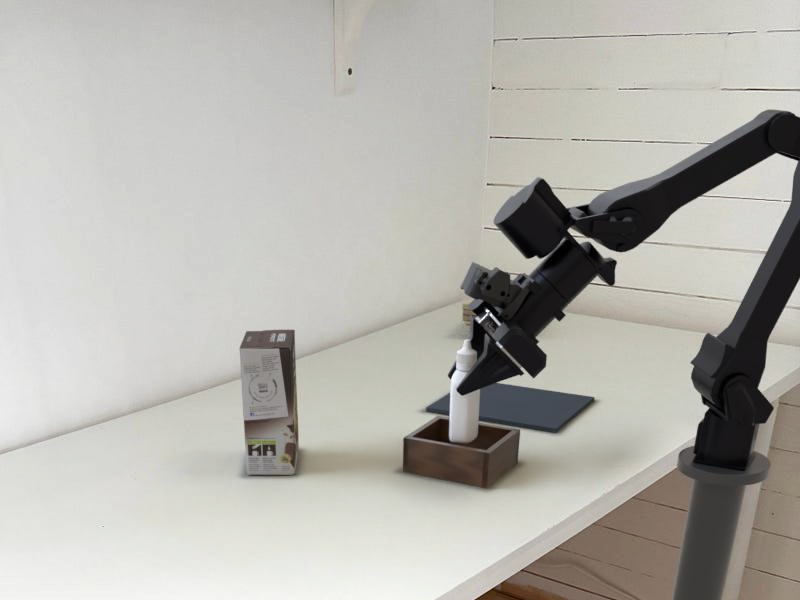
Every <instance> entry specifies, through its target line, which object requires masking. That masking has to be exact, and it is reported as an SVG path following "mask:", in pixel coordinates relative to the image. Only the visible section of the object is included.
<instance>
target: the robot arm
mask: <svg viewBox="0 0 800 600" xmlns="http://www.w3.org/2000/svg"><path fill="white" fill-rule="evenodd" d="M775 154H777V155H779V156H782V157H785V158H787V159H790V160H794V161H796V162H797V163H796V167H795V170H794V172H793V176H792V186H791V187H792V189H791V199H790V204H789V207H788V208H787V211H786V213H785V215H784V217H783V219H782V221H781V223H780V224H779V227H778V229H777V231H776V233H775V235H774V237H773V239H772V241H771V243H770V244H769V247H768V249H767V251H766V252H765V255H764V256H763V259H762V261H761V262H760V265H759V266H758V268H757V270H756V272H755V275H754V277H753V279H752V280H751V282H750V284H749V286H748V288H747V290H746V292H745V294H744V296H743V298H742V300H741V302H740V304H739V306H738V308H737V310H736V312H735V314H734V316H733V318H732V319H731V321H730V323H729V325H728V326H727V327H725V328H724V329H723V330H722V331H721V332H720V333H719V334H718V335H717V336H715V335H713V334H711V333H710V332H707V333H706V334H705V335H704V337H703V339H702V342H701V345H700V348H699V350H698V352H697V353H696V356H695V357H694V358H693V359H692V360H691V361H690V364H691V365H692V366H693V367H692V370H691V375H690V379H691V382H692V385H693V388H694V389H695V390H696V391H697V392H698V394H700V399H701V402H702V403H701V404H702V405H704V406H707V408H708V409H707V410H706V411H705V412H704V416H703V418H702V419H701V420H700V421H699V422H698V424H697V430H696V433H695V440H694V445H693V446H694V451H693V453H694V454H697V455H696V456H695V457H694V459H693V463H697V464H703V465H709V466H715V467H721V468H727V469H732V470H738V471H746V469H747V468H748V466H749V465H750V463H751V462H752V460H753V459H754V457H755V455H756V453H755V452H754V451H755V447H756V442H757V438H758V434H759V428H760V425H762V424H766V423H767V421H768V420H769V418H770V417H771V414H772V413H773V411H774V408H775V407H774V406H773V404H772V403H771V402H770V401H769V400H768V399H767V397H766V396H765V395H764V393H762V392H761V390H760V389H759V387H760V383H761V381H762V378H763V375H764V372H765V369H766V365H767V364H766V363H767V351H768V342H769V339H770V337H771V335H772V333H773V331H774V329H775V327H776V325H777V323H778V321H779V319H780V317H781V316H782V313H783V312H784V310H785V308H786V306H787V305H788V302H789V300H790V298H791V297H792V295H793V293H794V291H795V289H796V287H797V285H798V284H799V281H800V116H798V115H796V114H795V113H793V112H791V111H790V110H789V111H788V110H781V109H766V110H764V111H761V112H760V113H758V114H757V115H756V116H755V117H754V118H753V119H751V120H750V121H748V122H747V123H744V124H742V125H741V126H739V127H737V128H735V129H734V130H732V131H731V132H729V133H728V134H726V135H724V136H722V137H721V138H718V139H716V140H715V141H713V142H712V143H710V144H708V145H707V146H704V147H703V148H701V149H699V150H697V151H696V152H694V153H693V154H691V155H690V156H687V157H686V158H684V159H682V160H681V161H679V162H677V163H675V164H674V165H672V166H671V167H669V168H667V169H665V170H663V171H661V172H660V173H658V174H654V175H652V176H649V177H646V178H642V179H639V180H635V181H631V182H627V183H624V184H622V185H620V186H617V187H615V188H612V189H608V190H606V191H604V192H602V193H599V194H598V195H597V196H596V197H594V198H593V199H592V200H591V202H590V203H585V204H580V205H577V206H570V207H566V206H565V205H564V203H563V202H562V201H561V200H560V199H559V197H558V196H556V194H555V193H554V191H553V189H552V187H551V186H550V184H549V183H548V181H546V180H545V178H542V177H540V176H537V177H536V178H534V180H533V181H532V182H531V183H530V184H528V185H526V186H524V187H523V188H521V189H520V190H519V191H518V192H516V193H515V194H514V195H510V196H509V197H508V199H506V200H505V202H504V203H503V205H501V207H500V208H499V209H498V211H497V212H496V214H495V216H494V218H493V225H494V226H496V227H497V229H498V231H500V232H501V233H502V234H503V235H504V236H505V237H506V239H508V241H509V242H510V243H511V244H512V245H513V247H515V248H516V249H517V251H518V252H519V253H520V254H521V255H522V256H523V258H525V259H526V260H530V259H533V258H535V257H537V258H538V259H539V260H541V259H543V260H542V261H541V262H540V263H539V264H538V265H537V266H536V267H535V269H533V270H532V271H531V272H530V273H529V274H527V273H526V272H523V273H518V275H517V276H516V277H515V278H513V280H512V279H511V274H510V273H509V272H508V271H503V270H502V269H500V268H499V267H497V266H496V267H494V268H493V269H489V268H487V267H485V266H483V265H480V264H478V263H476V262H474V261H473V262H471V264H470V266H469V268H468V270H467V272H466V274H465V277H464V279H463V281H462V283H461V285H460V289H461V290H463V291H464V294H465V295H466V296H468V297H469V298H471V299H473V300H471V301H472V302H471V301H470V302H471V303H470V304H469V305H468V307H469V308H470V309H471V310H472V311H473V312H474V313H475V314H476V315H477V317H476V318H474V317H473V316H472V315H471V314H470V317H469V319H470V326H469V336H468V338H467V339H469V340H470V342H471V348H472V349H473V350H475V351H476V352H477V361H476V363H475V364H474V365H473V367H472V368H471V369H470V371H469V372H468V373H467V374H466V376H465V377H464V378H463V380H462V381H461V383H460V384H459V385H458V387H457V388H456V391H457V392H458V393H459V394H460V395H461V396H463V395H466V394H469V393H471V392H474V391H476V390H479V389H481V388H484V387H486V386H489V385H492V384H494V383H499V382H503V381H505V380H508V379H511V378H514V377H518V376H520V377H522V376H523V375H525V372H526V373H527V374H528V375H529V376H530V377H531V378H532V379H535V378H536V377H537V376H538V375H539V374H540V373H541V372H542V371H543V370H544V369H545V368H546V367H547V359H548V355H547V354H546V353H545V351H544V350H543V349H542V348H541V347H540V346H539V345H538V344H539V343H540V341H539V340H538V339H537V337H538V336H539V335H540V334H541V333H542V332H543V331H544V330H545V329H546V328H547V327H548V326H549V325H550V324H551V323H552V322H553V321H554V320H555V319H556V320H557V321H558V322H560V323H561V321H562V320H563V319H564V318H565V317H566V316H567V314H566V313H565V312H564V310H565V309H566V308H567V307H568V306H569V305H570V304H571V303H572V302H573V301H574V300H575V299H576V298H577V297H578V296H579V295H580V294H581V293H582V292H583V291H584V290H585V289H587V287H588V286H589V285H591V283H592V282H593V281H595V279H596V278H597V277H598V278H599V279H600V280H601V281H602V282H603V283H605V284H607V285H608V286H610V287H613V286H615V284H616V267H617V265H618V261H617V260H616V259H615V258H613V257H611V256H610V257H603V256H602V254H601V253H600V252H599V251H598V249H596V247H595V246H594V245H593V244H592V242H590V241H583V242H581V243H579V242H578V241H577V239H576V238H575V237H574V236H573V235H572V234H571V233H570V232H569V229H571V230H573V231H574V232H577V233H579V234H581V235H582V236H583V237H586V238H589V239H591V240H593V241H594V242H595V243H597V244H598V245H600V246H602V247H603V248H606V249H608V250H609V251H612V252H616V253H626V252H630V251H631V250H634V249H635V248H637V247H638V246H640V245H641V244H642V243H643V242H645V241H646V240H647V239H648V238H650V237H651V236H652V235H654V234H655V233H656V232H657V231H659V229H660V228H661V227H663V225H665V223H666V222H667V221H668V220H669V218H670V217H671V216H672V215H673V214H674V213H676V212H677V211H678V210H680V209H681V208H682V207H684V206H686V205H687V204H690V203H691V202H693V201H694V200H696V199H698V198H699V197H702V196H704V195H705V194H707V193H709V192H710V191H712V190H714V189H716V188H718V187H719V186H721V185H722V184H725V183H726V182H728V181H730V180H732V179H733V178H735V177H737V176H738V175H740V174H742V173H744V172H746V171H747V170H749V169H751V168H752V167H755V166H757V165H758V164H760V163H761V162H763V161H764V160H766V159H768V158H770V157H772V156H774V155H775ZM522 369H523V370H524V371H525V372H524V371H523V370H522ZM456 370H457V369H456V360H455V361H454V363H453V364H452V366H451V368H450V369H449V372H448V373H447V377H448V378H449V380H451V378H452V376H453V374H454V372H455V371H456Z"/></svg>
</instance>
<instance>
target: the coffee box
mask: <svg viewBox="0 0 800 600" xmlns="http://www.w3.org/2000/svg"><path fill="white" fill-rule="evenodd" d="M295 336H296V331H295V329H264V330H246V331H245V333H244V336H243V339H242V341H241V344H240V345H239V357H240V358H239V359H240V381H241V395H242V412H243V413H242V414H243V415H242V416H243V431H244V446H245V464H246V475H249V476H252V475H255V476H256V475H258V476H259V475H263V476H265V475H271V476H273V475H274V476H276V475H278V476H281V475H284V476H292V475H295V474H296V468H297V463H298V457H299V452H300V442H299V439H300V438H299V414H298V413H299V411H298V391H297V388H298V387H297V363H296V361H297V359H296V337H295Z"/></svg>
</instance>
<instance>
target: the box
mask: <svg viewBox="0 0 800 600" xmlns="http://www.w3.org/2000/svg"><path fill="white" fill-rule="evenodd" d="M472 301H473V300H471V301H468V302H464V303H462V307H461V308H462V322H465V326H468V327H470V319H469V317H470V314H471V315H472V316H473V317H474V318H476V317H477V315H476V314H475V313H474V312H473V311H472V310H471V309H470V308H469V307H468V305H469V304H470V303H471V302H472Z"/></svg>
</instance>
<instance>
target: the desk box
mask: <svg viewBox="0 0 800 600" xmlns="http://www.w3.org/2000/svg"><path fill="white" fill-rule="evenodd" d="M449 419H450V417H447V416H442V415H436V416H435V417H433V418H432V419H430V420H429V421H427V422H425V423H424V424H422V425H420V426H419V427H418V428H416V429H415V430H413V431H411V432H410V433H408V434H407V435H405V436H404V437H403V439H402V442H403V443H402V472H403V473H406V474H407V473H409V474H413V475H418V476H422V477H428V478H433V479H438V480H442V481H443V480H444V481H448V482H453V483H458V484H463V485H468V486H473V487H479V488H482V489H488V488H490V487H491V486H492V485H493V484H494V483H496V482H497V481H498V480H499V479H500V478H502V477H503V476H504V475H505V474H506V473H507V472H509V471H510V470H511V469H513V467H515V466H516V465H517V464H518V461H519V451H520V441H521V440H520V439H521V429H520V428H515V427H514V428H513V427H508V426H501V425H495V424H490V423H484V422H478V435H477V437H476V438H475V439H474V440H473V441H471V442H469V443H454V442H451V441H450V439H449Z"/></svg>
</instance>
